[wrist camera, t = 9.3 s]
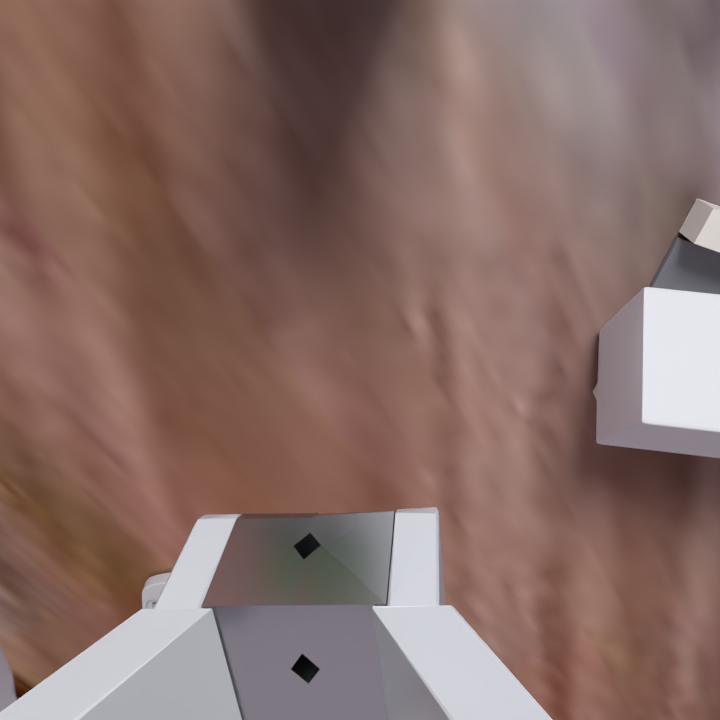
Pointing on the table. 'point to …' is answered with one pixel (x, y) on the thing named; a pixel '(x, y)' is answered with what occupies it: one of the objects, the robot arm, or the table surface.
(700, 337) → the milk carton
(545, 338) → the table surface
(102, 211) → the table surface
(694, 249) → the cradle
